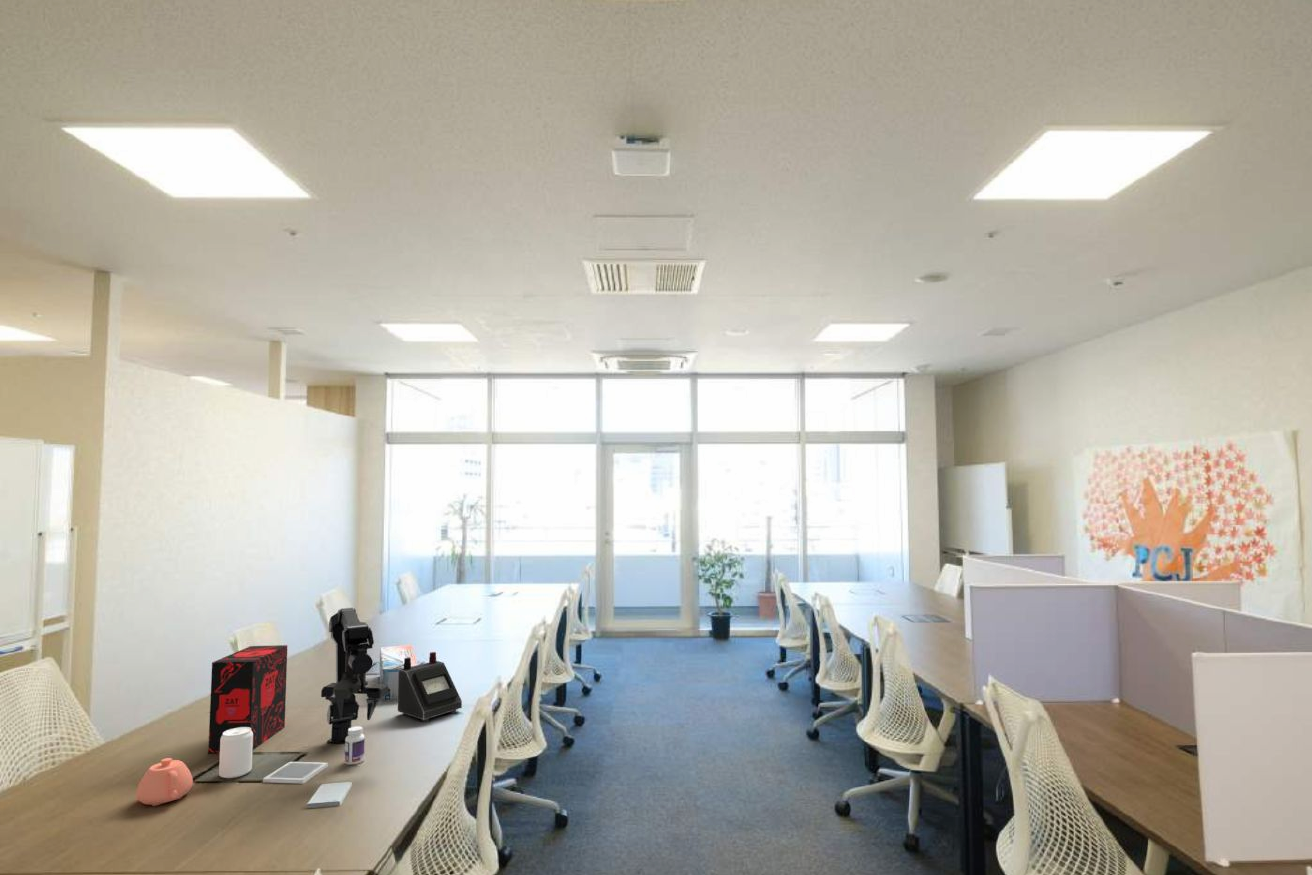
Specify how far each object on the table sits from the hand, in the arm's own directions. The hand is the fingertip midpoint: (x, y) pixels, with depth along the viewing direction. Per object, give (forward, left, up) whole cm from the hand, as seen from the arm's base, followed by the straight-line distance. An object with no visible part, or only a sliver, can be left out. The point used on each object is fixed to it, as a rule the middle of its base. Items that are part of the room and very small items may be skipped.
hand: (354, 719), depth 205 cm
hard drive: (+23, +6, -13) cm, 27 cm away
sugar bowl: (+28, -37, -13) cm, 48 cm away
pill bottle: (0, 0, -13) cm, 13 cm away
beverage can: (+11, -30, -13) cm, 34 cm away
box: (-15, -45, -13) cm, 49 cm away
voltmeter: (-45, +4, -13) cm, 47 cm away
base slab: (+10, -12, -12) cm, 20 cm away
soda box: (-79, -25, -13) cm, 84 cm away
